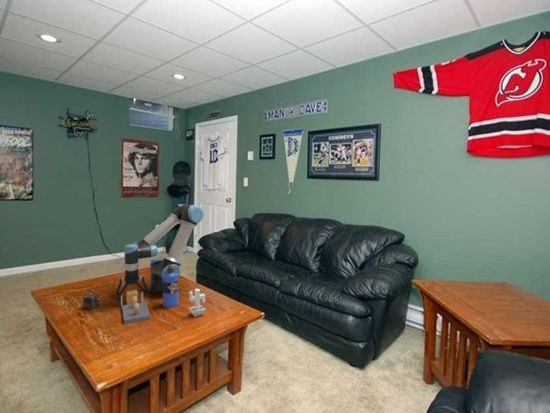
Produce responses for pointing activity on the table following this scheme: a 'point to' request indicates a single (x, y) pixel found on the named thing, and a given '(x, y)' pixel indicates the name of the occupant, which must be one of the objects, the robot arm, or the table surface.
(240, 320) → the table surface
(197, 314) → the figurine
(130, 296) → the tan rectangular block
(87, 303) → the box
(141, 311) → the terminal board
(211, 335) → the table surface
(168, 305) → the water bottle
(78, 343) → the table surface
